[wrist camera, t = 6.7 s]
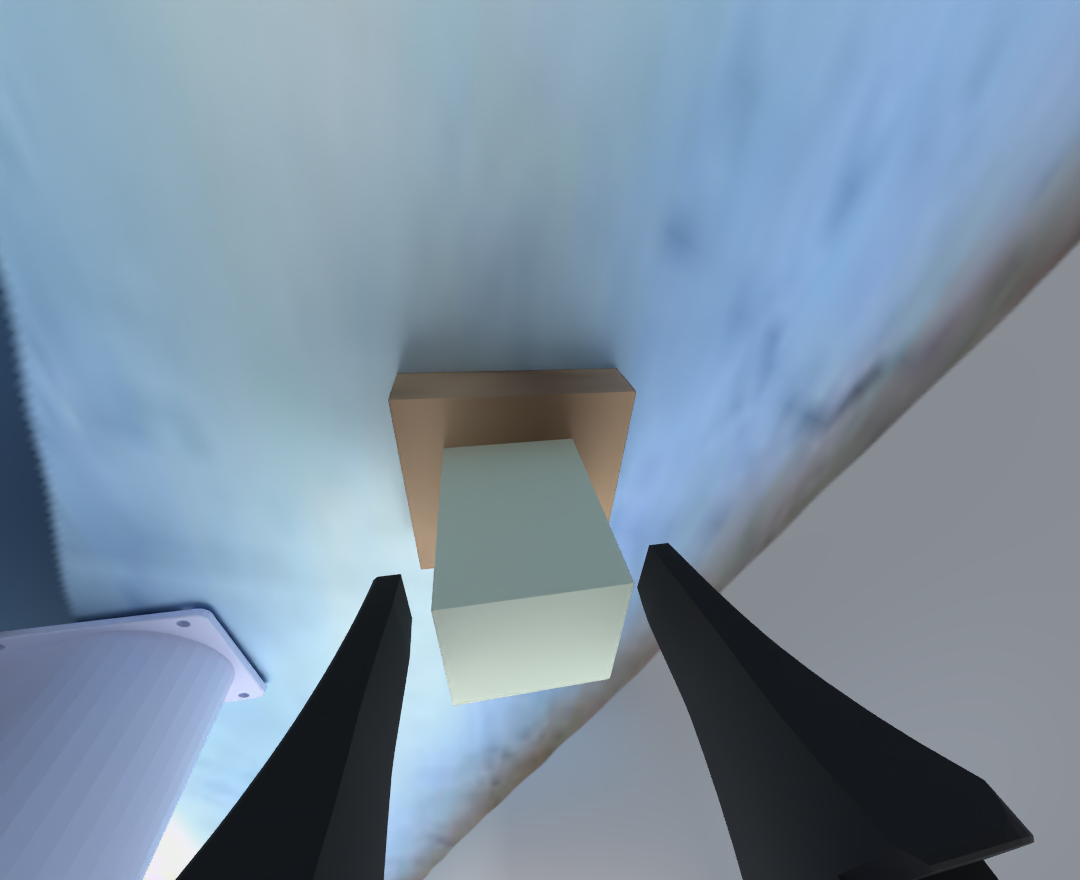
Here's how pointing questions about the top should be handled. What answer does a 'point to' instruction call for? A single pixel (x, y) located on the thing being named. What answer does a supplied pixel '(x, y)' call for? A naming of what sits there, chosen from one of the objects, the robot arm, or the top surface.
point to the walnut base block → (505, 426)
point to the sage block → (524, 572)
